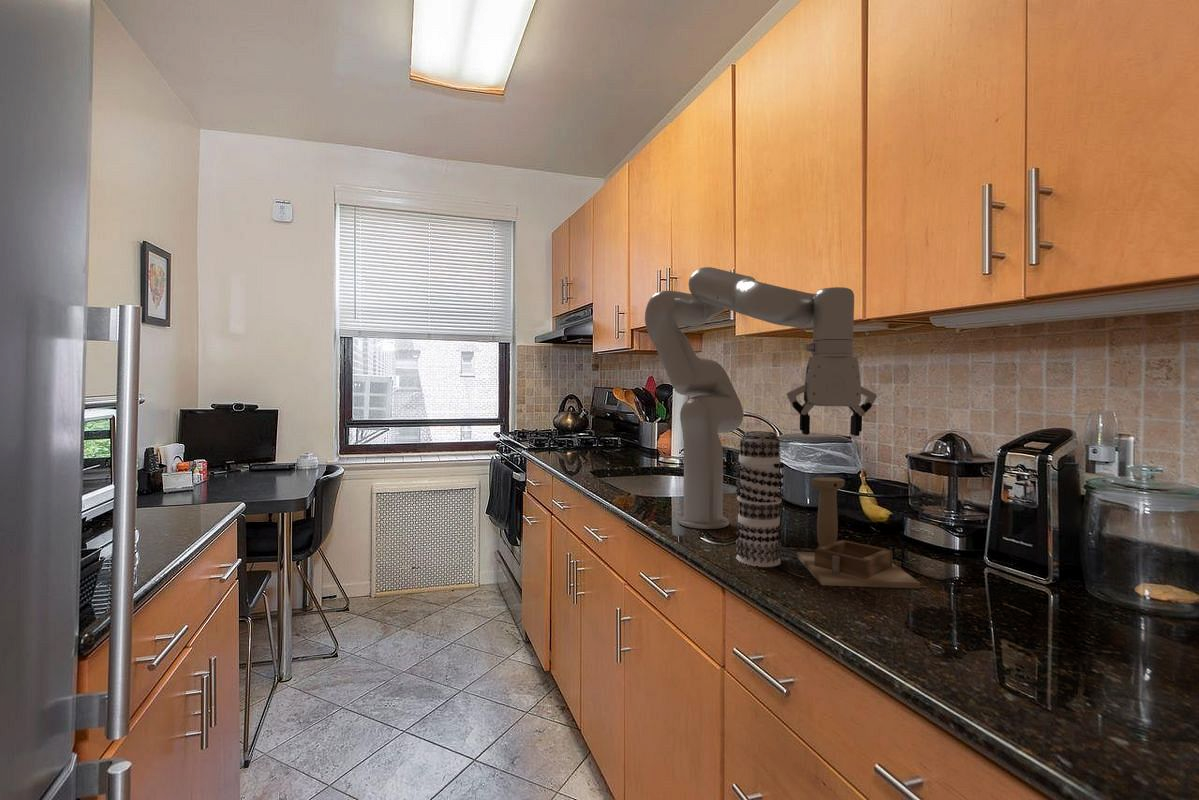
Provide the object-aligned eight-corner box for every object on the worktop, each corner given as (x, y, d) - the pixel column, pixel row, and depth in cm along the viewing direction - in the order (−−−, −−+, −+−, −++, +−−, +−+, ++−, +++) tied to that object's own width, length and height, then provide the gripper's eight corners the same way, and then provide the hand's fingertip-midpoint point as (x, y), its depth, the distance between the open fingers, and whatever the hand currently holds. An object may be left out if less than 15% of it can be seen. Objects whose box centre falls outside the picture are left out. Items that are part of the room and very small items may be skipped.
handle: (848, 554, 113) (849, 480, 113) (820, 556, 112) (821, 481, 112) (833, 548, 118) (834, 476, 118) (806, 550, 117) (807, 477, 116)
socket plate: (796, 557, 112) (797, 537, 111) (880, 559, 110) (881, 539, 110) (821, 585, 96) (821, 561, 96) (919, 588, 94) (920, 564, 94)
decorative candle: (765, 551, 115) (767, 429, 115) (793, 565, 106) (794, 433, 106) (725, 555, 113) (726, 430, 112) (750, 569, 104) (751, 434, 103)
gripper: (792, 348, 111) (790, 435, 111) (884, 349, 109) (882, 437, 109) (784, 350, 118) (782, 432, 119) (869, 351, 116) (867, 434, 117)
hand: (830, 434), depth 114 cm, fingers open, 9 cm apart
